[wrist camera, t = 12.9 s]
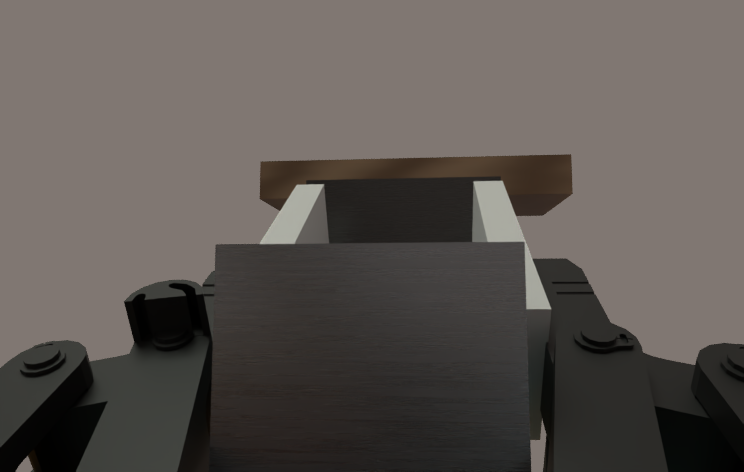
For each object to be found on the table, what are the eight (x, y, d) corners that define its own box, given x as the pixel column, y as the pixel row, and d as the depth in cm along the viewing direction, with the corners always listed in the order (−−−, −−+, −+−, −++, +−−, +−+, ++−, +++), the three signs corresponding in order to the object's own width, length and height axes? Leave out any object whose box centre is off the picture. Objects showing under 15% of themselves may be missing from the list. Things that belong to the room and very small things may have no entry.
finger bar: (133, 478, 7) (152, 30, 8) (331, 358, 22) (332, 205, 23) (618, 493, 7) (596, 10, 8) (488, 360, 22) (485, 203, 23)
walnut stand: (247, 782, 27) (260, 161, 31) (286, 678, 35) (293, 188, 38) (595, 811, 26) (570, 154, 29) (558, 696, 33) (541, 184, 37)
